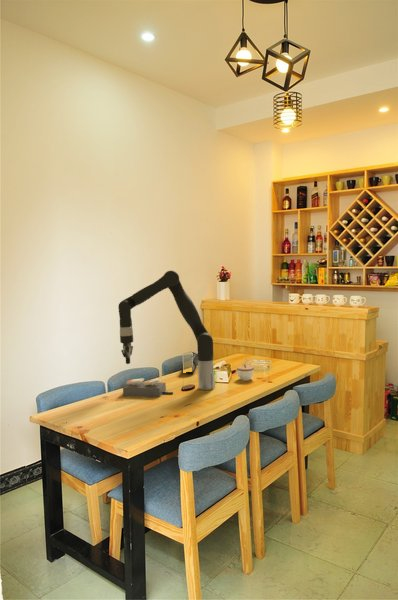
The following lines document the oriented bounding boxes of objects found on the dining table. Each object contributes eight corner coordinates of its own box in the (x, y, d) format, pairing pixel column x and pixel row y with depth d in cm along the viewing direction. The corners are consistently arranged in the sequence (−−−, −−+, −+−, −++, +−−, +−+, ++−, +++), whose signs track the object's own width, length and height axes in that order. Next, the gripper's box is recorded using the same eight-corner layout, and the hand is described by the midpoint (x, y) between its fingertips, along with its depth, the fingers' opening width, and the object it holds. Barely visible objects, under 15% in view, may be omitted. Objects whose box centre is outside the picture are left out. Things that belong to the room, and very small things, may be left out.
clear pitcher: (199, 365, 332) (199, 351, 331) (195, 375, 304) (195, 359, 304) (187, 365, 333) (186, 351, 332) (181, 375, 305) (181, 360, 305)
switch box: (175, 391, 267) (175, 382, 266) (170, 397, 255) (169, 388, 254) (130, 390, 273) (130, 381, 272) (123, 395, 261) (122, 387, 261)
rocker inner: (162, 381, 264) (161, 377, 264) (159, 383, 259) (158, 379, 259) (148, 384, 266) (147, 380, 266) (145, 387, 261) (143, 383, 261)
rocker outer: (144, 381, 267) (143, 377, 267) (141, 384, 261) (140, 380, 261) (130, 383, 269) (129, 379, 269) (126, 385, 263) (126, 381, 263)
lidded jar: (256, 378, 289) (256, 363, 288) (249, 382, 280) (248, 367, 279) (241, 376, 295) (241, 362, 294) (234, 380, 286) (233, 365, 285)
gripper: (128, 336, 256) (130, 366, 258) (136, 332, 269) (138, 361, 271) (116, 336, 258) (117, 366, 259) (124, 332, 271) (126, 361, 272)
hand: (128, 363), depth 265 cm, fingers closed
